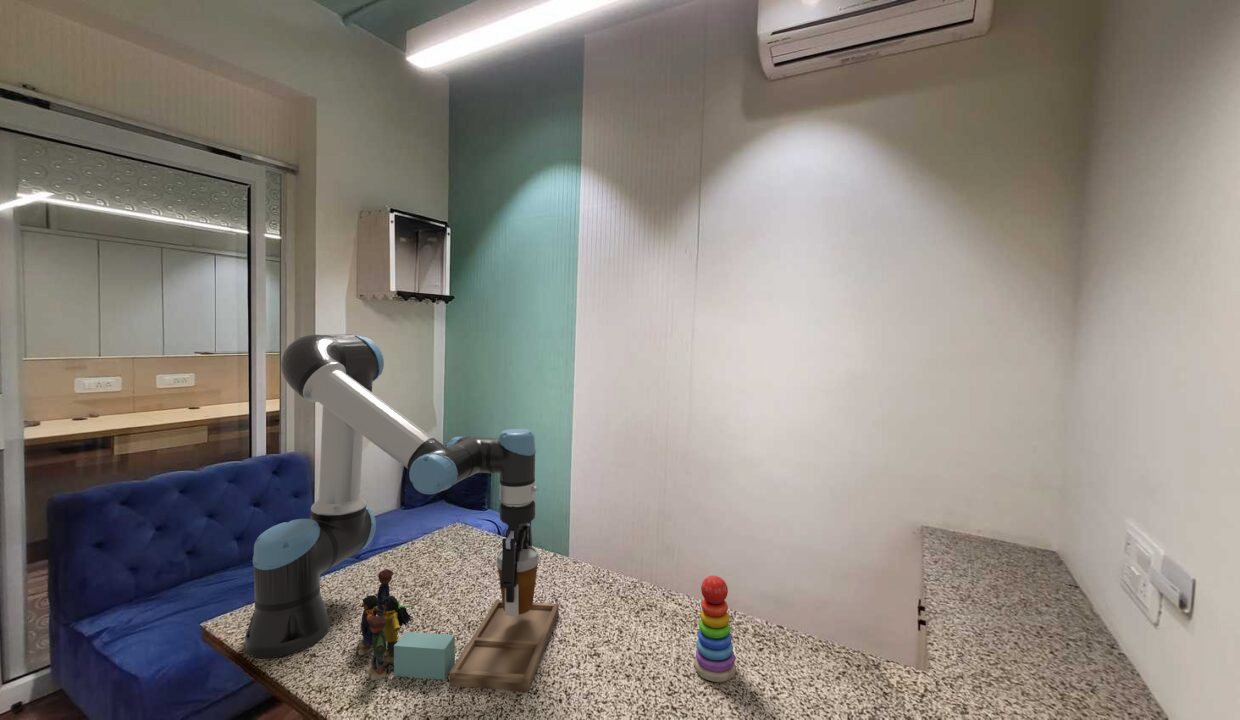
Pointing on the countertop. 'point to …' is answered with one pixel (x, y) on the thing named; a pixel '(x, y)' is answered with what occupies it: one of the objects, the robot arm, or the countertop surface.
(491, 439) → the robot arm
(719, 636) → the stacking toy
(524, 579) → the disposable coffee cup
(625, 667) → the countertop surface
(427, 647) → the teal rectangular block
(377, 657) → the doll family
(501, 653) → the divided compartment tray
